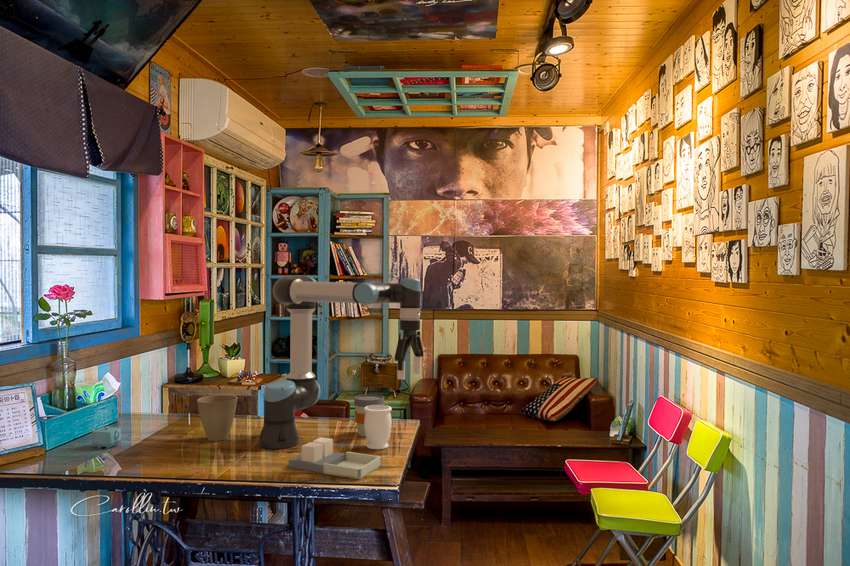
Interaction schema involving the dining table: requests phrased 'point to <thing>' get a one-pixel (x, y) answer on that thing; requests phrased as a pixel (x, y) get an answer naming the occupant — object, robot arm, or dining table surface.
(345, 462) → the tray
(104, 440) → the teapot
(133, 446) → the dining table surface
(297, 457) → the board
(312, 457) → the block
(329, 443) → the block
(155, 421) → the dining table surface
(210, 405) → the plant pot
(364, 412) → the reusable coffee cup
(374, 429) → the jar
